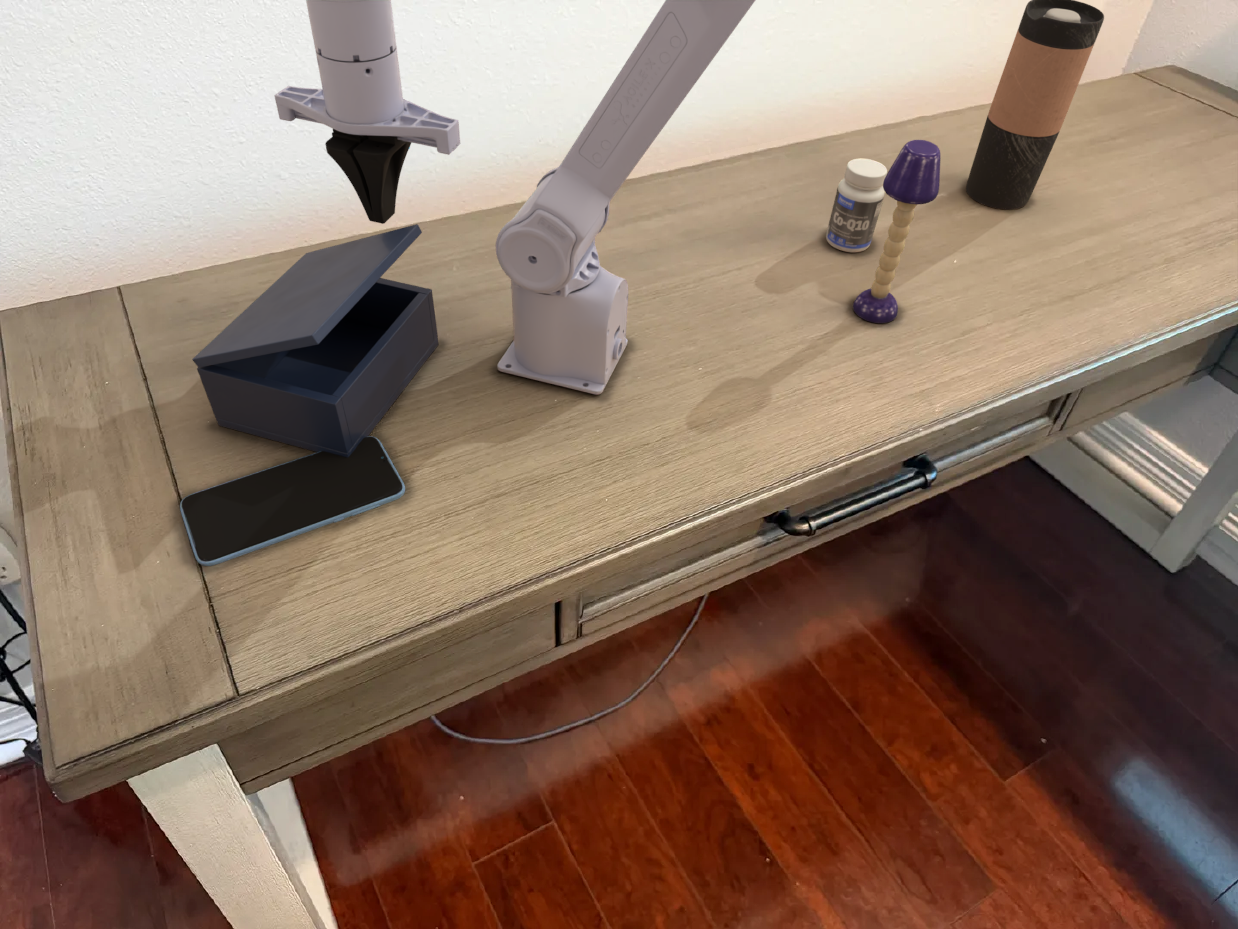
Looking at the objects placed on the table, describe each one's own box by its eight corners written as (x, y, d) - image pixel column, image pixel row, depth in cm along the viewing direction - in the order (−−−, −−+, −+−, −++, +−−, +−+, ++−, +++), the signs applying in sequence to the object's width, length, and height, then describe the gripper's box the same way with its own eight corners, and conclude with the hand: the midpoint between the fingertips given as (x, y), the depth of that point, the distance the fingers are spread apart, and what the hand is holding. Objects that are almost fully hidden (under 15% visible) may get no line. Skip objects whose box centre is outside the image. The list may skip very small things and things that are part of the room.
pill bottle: (820, 246, 93) (838, 171, 87) (830, 225, 96) (848, 151, 90) (865, 257, 92) (886, 182, 86) (874, 236, 95) (895, 161, 89)
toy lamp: (904, 327, 84) (959, 159, 72) (855, 327, 83) (903, 158, 72) (890, 297, 87) (940, 132, 75) (843, 297, 87) (887, 131, 75)
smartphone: (175, 497, 65) (375, 430, 70) (179, 505, 65) (377, 438, 71) (197, 567, 60) (409, 490, 66) (201, 575, 61) (410, 498, 66)
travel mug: (1038, 190, 104) (1113, 7, 90) (1021, 218, 99) (1097, 29, 85) (974, 171, 107) (1036, -9, 92) (954, 197, 102) (1017, 11, 88)
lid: (422, 232, 71) (417, 223, 71) (318, 344, 60) (311, 335, 60) (311, 260, 77) (306, 252, 76) (198, 367, 66) (191, 359, 66)
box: (439, 344, 79) (432, 289, 75) (349, 461, 68) (335, 404, 64) (322, 316, 81) (309, 261, 77) (217, 425, 70) (196, 368, 66)
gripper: (472, 44, 66) (482, 211, 75) (298, 12, 68) (329, 177, 78) (428, 80, 61) (445, 253, 70) (243, 44, 64) (284, 216, 73)
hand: (382, 216), depth 74 cm, fingers closed
